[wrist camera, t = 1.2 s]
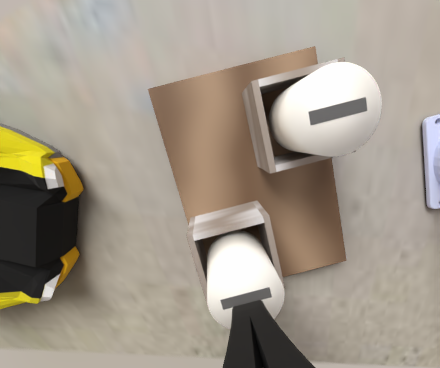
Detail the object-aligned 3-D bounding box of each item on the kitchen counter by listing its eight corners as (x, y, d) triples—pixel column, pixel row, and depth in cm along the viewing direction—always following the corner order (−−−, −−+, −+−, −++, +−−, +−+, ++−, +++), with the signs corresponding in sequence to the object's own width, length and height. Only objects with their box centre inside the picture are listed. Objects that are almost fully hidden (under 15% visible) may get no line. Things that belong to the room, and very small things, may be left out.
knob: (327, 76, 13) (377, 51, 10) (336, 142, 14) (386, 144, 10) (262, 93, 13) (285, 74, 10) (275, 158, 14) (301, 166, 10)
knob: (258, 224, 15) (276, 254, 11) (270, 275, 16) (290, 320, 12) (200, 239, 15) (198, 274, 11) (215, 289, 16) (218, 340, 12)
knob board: (305, 54, 17) (345, 20, 12) (336, 251, 21) (376, 287, 16) (152, 93, 17) (131, 75, 12) (209, 284, 21) (210, 330, 16)
